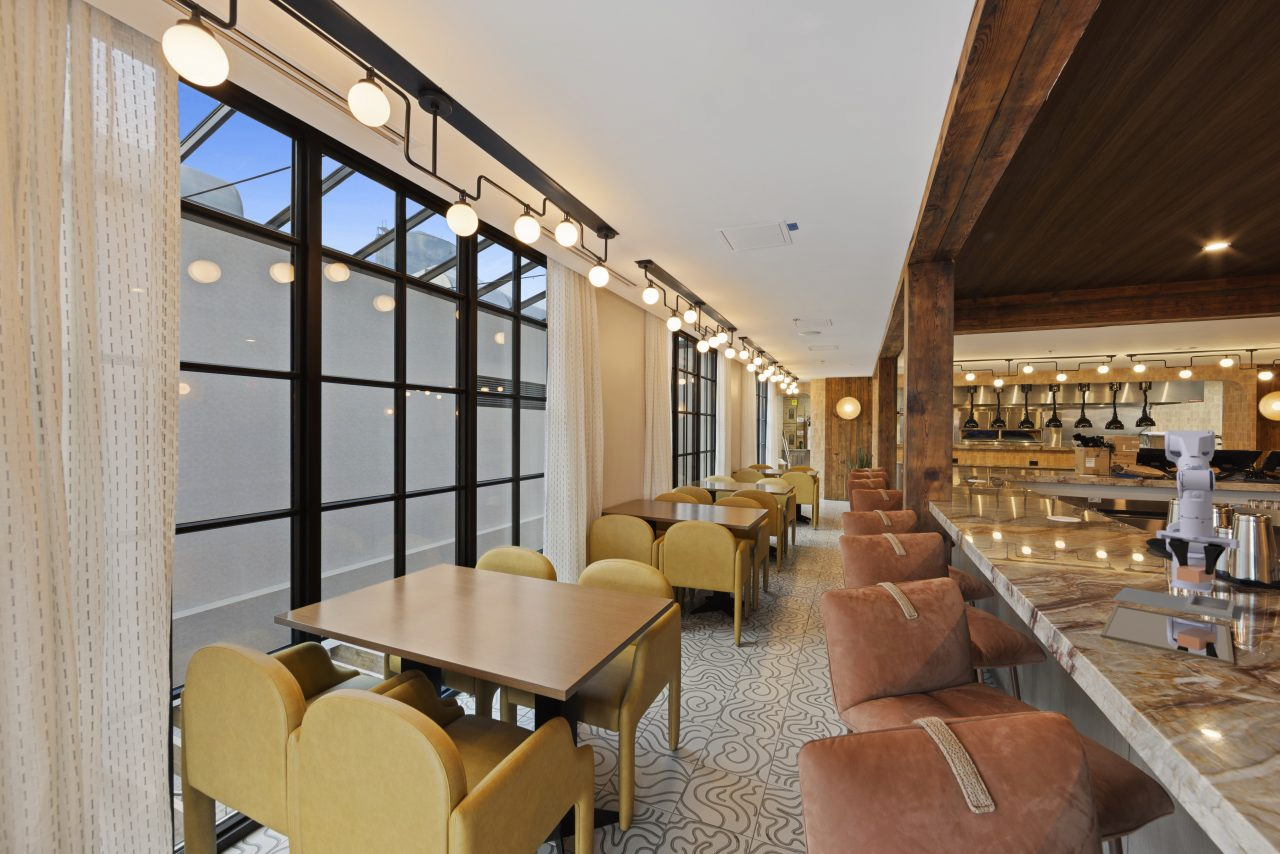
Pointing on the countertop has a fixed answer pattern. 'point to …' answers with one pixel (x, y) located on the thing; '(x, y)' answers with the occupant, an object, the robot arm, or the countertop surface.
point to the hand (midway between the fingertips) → (1196, 572)
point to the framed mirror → (1170, 633)
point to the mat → (1170, 602)
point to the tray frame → (1208, 610)
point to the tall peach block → (1194, 573)
